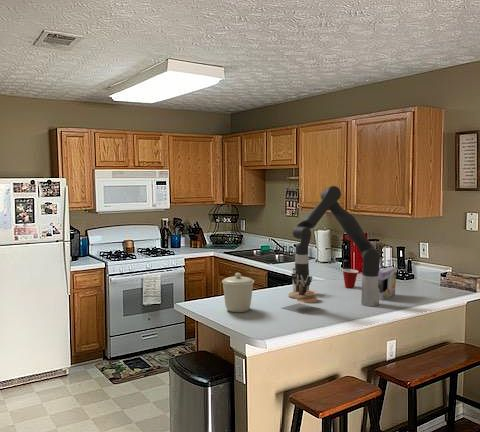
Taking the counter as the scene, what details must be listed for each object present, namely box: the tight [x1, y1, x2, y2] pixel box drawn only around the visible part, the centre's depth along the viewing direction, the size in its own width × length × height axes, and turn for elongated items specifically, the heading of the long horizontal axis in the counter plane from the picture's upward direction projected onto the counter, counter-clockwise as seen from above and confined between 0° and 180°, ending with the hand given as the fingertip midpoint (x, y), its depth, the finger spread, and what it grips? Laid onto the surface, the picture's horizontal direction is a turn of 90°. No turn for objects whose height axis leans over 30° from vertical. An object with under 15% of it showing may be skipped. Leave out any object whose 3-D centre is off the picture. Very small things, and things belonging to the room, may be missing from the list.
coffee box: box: [292, 267, 310, 292], centre depth 315 cm, size 9×6×16 cm
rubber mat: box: [281, 302, 321, 315], centre depth 279 cm, size 16×16×1 cm
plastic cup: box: [341, 268, 359, 289], centre depth 332 cm, size 11×11×12 cm
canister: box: [221, 272, 255, 313], centre depth 275 cm, size 18×18×21 cm
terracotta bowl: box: [296, 289, 318, 304], centre depth 297 cm, size 11×11×5 cm
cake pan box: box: [378, 266, 397, 301], centre depth 306 cm, size 19×5×18 cm, turn 136°
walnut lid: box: [287, 284, 315, 300], centre depth 277 cm, size 15×15×7 cm
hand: (301, 292), depth 278 cm, fingers closed on walnut lid, 3 cm apart
